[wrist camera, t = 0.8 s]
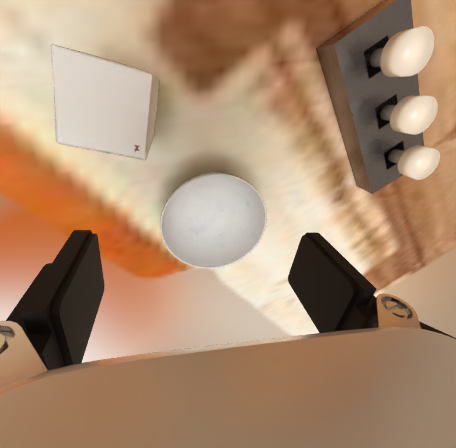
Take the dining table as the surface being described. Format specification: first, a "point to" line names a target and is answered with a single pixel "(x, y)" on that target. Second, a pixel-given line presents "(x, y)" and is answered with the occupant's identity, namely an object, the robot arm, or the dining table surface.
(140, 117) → the supplement box
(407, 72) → the knob
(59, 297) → the robot arm
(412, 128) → the knob middle
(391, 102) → the knob plate
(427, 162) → the knob
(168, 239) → the chinaware
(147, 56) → the dining table surface
